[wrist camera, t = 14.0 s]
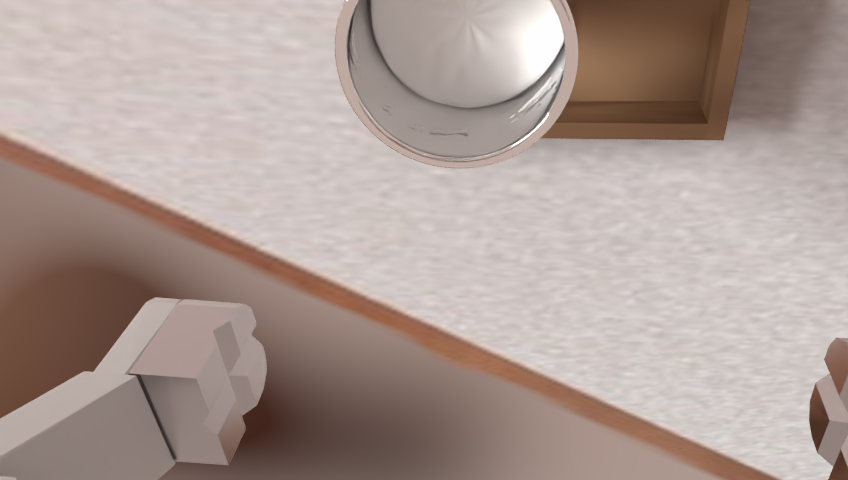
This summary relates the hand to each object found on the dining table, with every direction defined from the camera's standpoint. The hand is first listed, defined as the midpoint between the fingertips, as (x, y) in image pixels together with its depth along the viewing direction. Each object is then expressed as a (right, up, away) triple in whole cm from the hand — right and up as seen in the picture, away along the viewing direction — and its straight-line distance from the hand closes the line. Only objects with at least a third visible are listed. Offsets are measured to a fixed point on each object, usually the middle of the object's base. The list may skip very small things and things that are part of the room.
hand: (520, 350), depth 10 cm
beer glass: (+2, +15, +21) cm, 26 cm away
